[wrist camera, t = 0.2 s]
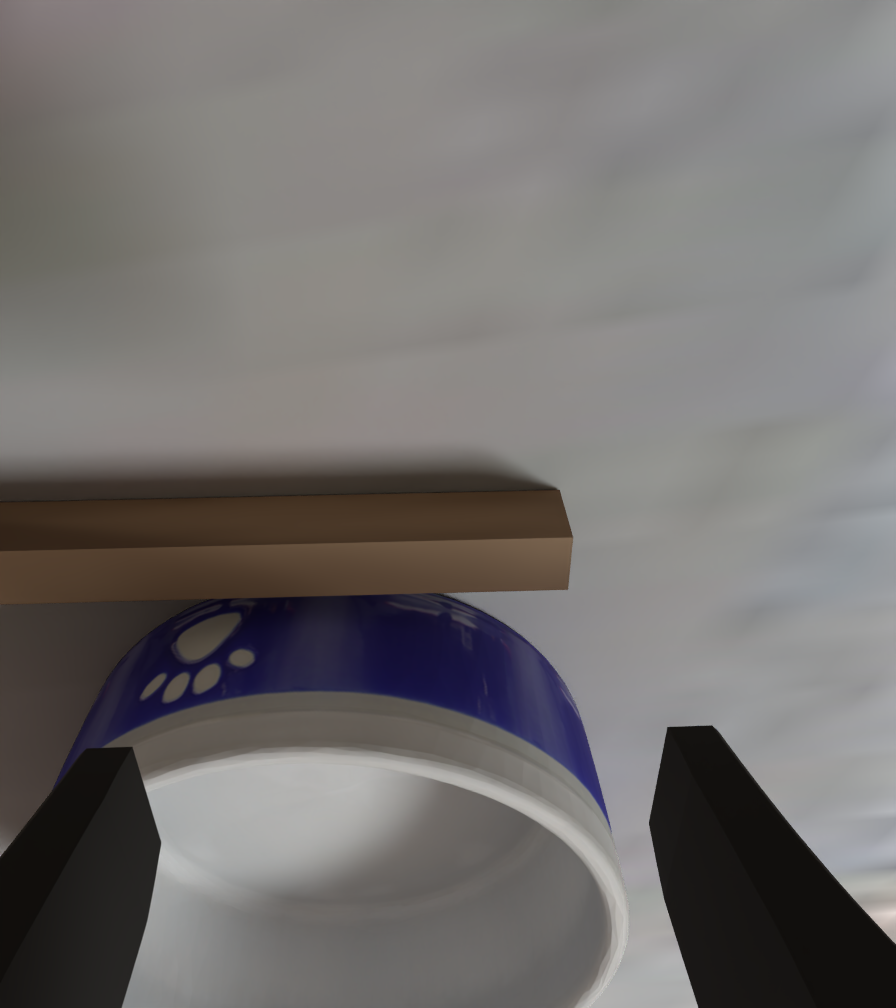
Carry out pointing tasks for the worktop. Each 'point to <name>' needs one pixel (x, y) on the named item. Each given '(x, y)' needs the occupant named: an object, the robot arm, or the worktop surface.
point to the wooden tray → (283, 546)
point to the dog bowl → (363, 810)
